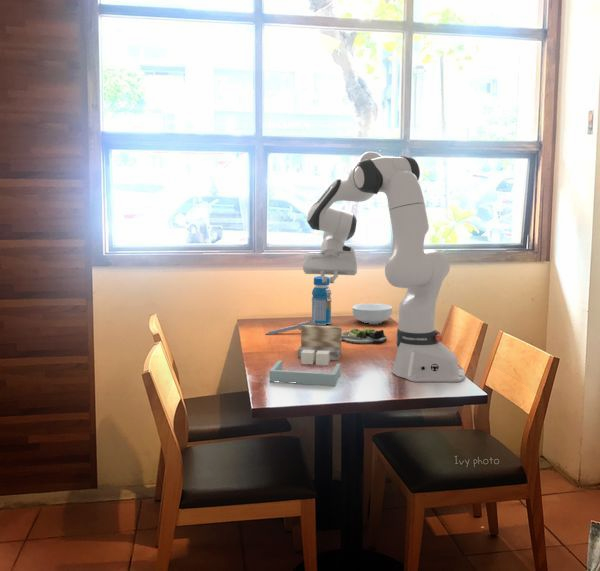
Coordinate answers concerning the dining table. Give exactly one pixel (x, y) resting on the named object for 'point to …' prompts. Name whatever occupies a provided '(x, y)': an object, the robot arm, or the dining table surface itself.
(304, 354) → the cream block
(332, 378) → the tray
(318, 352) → the cream block
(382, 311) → the cereal bowl
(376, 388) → the dining table surface
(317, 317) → the beverage bottle
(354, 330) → the salad plate
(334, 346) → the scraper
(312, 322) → the caliper
